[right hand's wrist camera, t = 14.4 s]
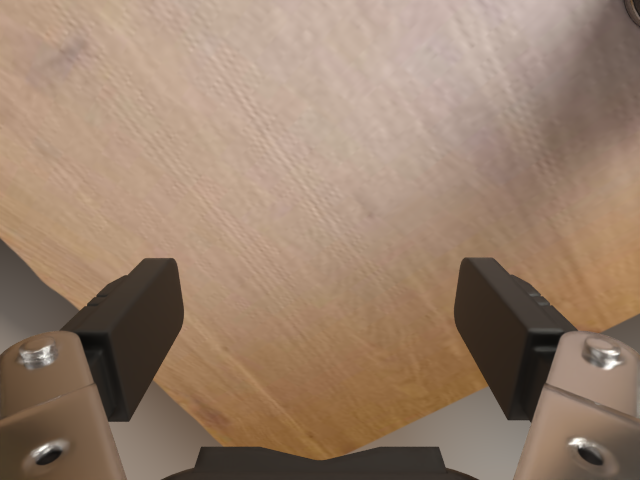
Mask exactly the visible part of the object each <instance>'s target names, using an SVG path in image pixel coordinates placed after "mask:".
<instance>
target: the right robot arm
mask: <svg viewBox="0 0 640 480" xmlns="http://www.w3.org/2000/svg"><path fill="white" fill-rule="evenodd" d="M624 2H625V6H626V9H627V12H628V13H629V15H630V17H631V18H632V20H633V21H634V22H635V23H636V24H637V25H638V26H639V27H640V0H624ZM454 318H455V324H456V327H457V329H458V331H459V333H460V335H461V337H462V338H463V340H464V342H465V344H466V346H467V347H468V349H469V351H470V353H471V355H472V356H473V358H474V360H475V362H476V364H477V365H478V367H479V369H480V371H481V373H482V375H483V376H484V378H485V380H486V382H487V384H488V385H489V387H490V389H491V391H492V392H493V394H494V396H495V398H496V400H497V402H498V403H499V405H500V407H501V409H502V410H503V412H504V414H505V416H506V418H507V419H508V420H530V422H531V426H530V429H529V432H528V435H527V438H526V441H525V444H524V447H523V450H522V453H521V456H520V460H519V463H518V466H517V469H516V472H515V475H514V478H513V480H640V355H639V354H638V353H637V352H636V351H635V350H633V349H632V348H631V347H629V346H627V345H626V344H624V343H622V342H620V341H618V340H616V339H614V338H611V337H608V336H605V335H602V334H598V333H594V332H588V331H578V330H577V329H576V328H575V327H574V326H573V325H572V324H571V323H570V322H569V321H568V320H567V319H566V318H565V317H564V316H563V315H562V314H561V313H560V312H558V311H557V310H556V309H555V308H554V307H553V306H552V305H550V303H549V302H548V301H547V300H546V299H545V298H544V297H543V296H541V294H540V293H539V292H538V291H537V290H536V289H535V288H534V287H533V286H532V285H530V284H529V283H527V282H525V281H524V280H522V279H520V278H518V277H516V276H514V275H510V274H509V273H508V272H507V271H506V270H505V269H504V268H503V267H502V266H501V265H500V264H499V263H498V262H497V261H496V260H495V259H494V258H464V259H463V260H462V262H461V265H460V271H459V278H458V285H457V292H456V298H455V305H454ZM183 319H184V306H183V299H182V293H181V286H180V279H179V273H178V267H177V263H176V261H175V260H174V259H173V258H145V259H143V260H142V261H141V262H140V263H139V264H138V265H137V266H136V267H135V268H134V269H133V270H132V271H131V272H130V273H129V274H128V275H125V276H123V277H121V278H119V279H117V280H115V281H113V282H111V283H109V284H108V285H107V286H106V287H104V288H103V289H102V290H101V291H100V292H99V293H98V294H97V297H94V298H93V299H92V300H91V301H90V302H89V303H88V304H87V306H85V307H84V308H82V309H81V310H80V311H79V312H78V313H77V314H76V315H75V316H74V317H73V318H72V319H71V320H70V321H69V322H68V323H67V324H66V325H65V326H64V327H63V328H62V329H61V330H59V331H52V332H46V333H42V334H38V335H35V336H32V337H29V338H26V339H24V340H22V341H20V342H18V343H16V344H14V345H13V346H11V347H9V348H8V349H7V350H5V351H4V352H3V353H2V354H1V355H0V480H127V478H126V475H125V472H124V469H123V466H122V463H121V460H120V456H119V453H118V450H117V447H116V444H115V441H114V438H113V435H112V432H111V429H110V426H109V423H108V422H129V421H130V419H131V417H132V415H133V414H134V412H135V410H136V408H137V407H138V405H139V403H140V401H141V399H142V398H143V396H144V394H145V392H146V390H147V389H148V387H149V385H150V383H151V381H152V380H153V378H154V376H155V375H156V373H157V371H158V369H159V367H160V366H161V364H162V362H163V360H164V358H165V357H166V355H167V353H168V351H169V350H170V348H171V346H172V344H173V342H174V341H175V339H176V337H177V335H178V334H179V332H180V330H181V328H182V324H183ZM162 480H478V479H476V478H474V477H472V476H470V475H467V474H464V473H461V472H459V471H456V470H452V469H449V468H446V467H445V464H444V461H443V458H442V455H441V452H440V449H439V447H378V448H374V449H369V450H365V451H361V452H357V453H353V454H348V455H344V456H340V457H336V458H332V459H328V460H312V459H308V458H304V457H300V456H296V455H292V454H287V453H283V452H279V451H275V450H271V449H267V448H262V447H201V449H200V452H199V455H198V458H197V461H196V464H195V467H194V468H192V469H188V470H184V471H181V472H179V473H176V474H173V475H170V476H168V477H166V478H164V479H162Z"/></svg>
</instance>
